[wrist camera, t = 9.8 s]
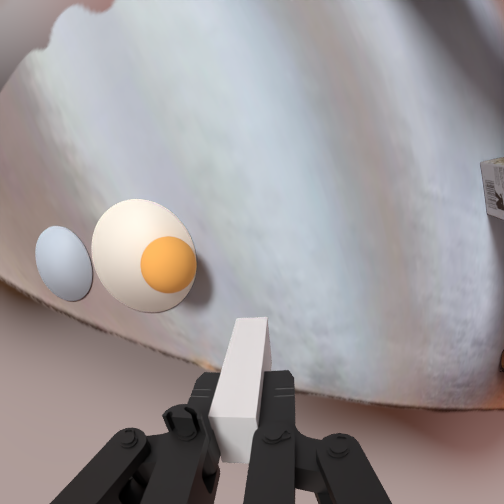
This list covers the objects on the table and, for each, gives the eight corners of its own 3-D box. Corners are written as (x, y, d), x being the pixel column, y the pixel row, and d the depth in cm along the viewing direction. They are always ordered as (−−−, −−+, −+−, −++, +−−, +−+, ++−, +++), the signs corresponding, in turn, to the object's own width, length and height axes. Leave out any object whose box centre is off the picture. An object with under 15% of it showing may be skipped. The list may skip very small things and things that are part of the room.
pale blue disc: (82, 221, 32) (81, 221, 32) (101, 300, 34) (100, 301, 34) (29, 230, 33) (28, 230, 33) (48, 300, 36) (47, 300, 36)
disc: (186, 191, 30) (186, 191, 29) (205, 310, 33) (205, 311, 33) (83, 207, 31) (82, 208, 31) (107, 311, 35) (106, 312, 35)
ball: (131, 238, 29) (181, 228, 32) (140, 289, 31) (188, 278, 33) (143, 247, 25) (202, 235, 28) (153, 307, 26) (208, 292, 29)
